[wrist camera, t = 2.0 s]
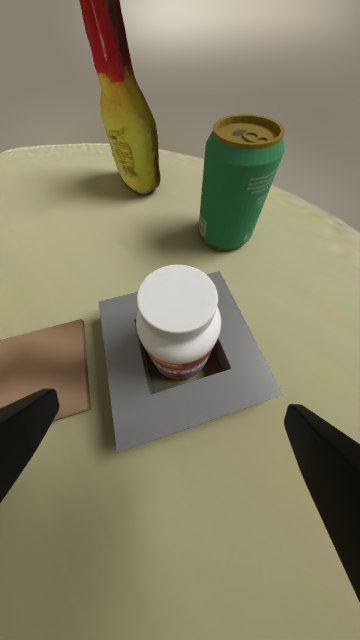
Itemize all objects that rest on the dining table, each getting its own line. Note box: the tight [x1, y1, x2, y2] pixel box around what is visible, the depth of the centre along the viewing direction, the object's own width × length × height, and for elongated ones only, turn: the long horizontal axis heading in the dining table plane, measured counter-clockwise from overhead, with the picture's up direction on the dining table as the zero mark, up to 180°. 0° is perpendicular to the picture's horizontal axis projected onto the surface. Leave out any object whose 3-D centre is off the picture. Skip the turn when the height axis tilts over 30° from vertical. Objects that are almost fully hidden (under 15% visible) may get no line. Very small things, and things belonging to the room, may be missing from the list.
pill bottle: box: [136, 265, 221, 380], centre depth 15 cm, size 6×6×11 cm
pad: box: [0, 319, 90, 421], centre depth 19 cm, size 10×10×1 cm
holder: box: [99, 271, 283, 453], centre depth 19 cm, size 14×14×3 cm
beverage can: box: [199, 114, 284, 251], centre depth 23 cm, size 8×8×12 cm
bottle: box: [80, 0, 160, 194], centre depth 26 cm, size 12×6×20 cm, turn 35°
